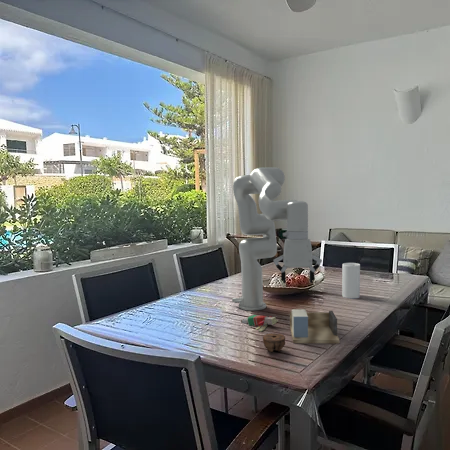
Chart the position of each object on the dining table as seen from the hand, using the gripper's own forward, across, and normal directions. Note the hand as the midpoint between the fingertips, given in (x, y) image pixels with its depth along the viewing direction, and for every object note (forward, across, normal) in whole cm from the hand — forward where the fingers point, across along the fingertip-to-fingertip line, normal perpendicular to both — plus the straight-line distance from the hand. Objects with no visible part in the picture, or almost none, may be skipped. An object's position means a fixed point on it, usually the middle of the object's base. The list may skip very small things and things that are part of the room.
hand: (297, 282), depth 155 cm
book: (+19, +1, 0) cm, 19 cm away
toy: (+21, -14, +13) cm, 29 cm away
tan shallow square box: (+20, +6, +1) cm, 21 cm away
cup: (+20, +31, +55) cm, 66 cm away
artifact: (+20, -9, -14) cm, 26 cm away
